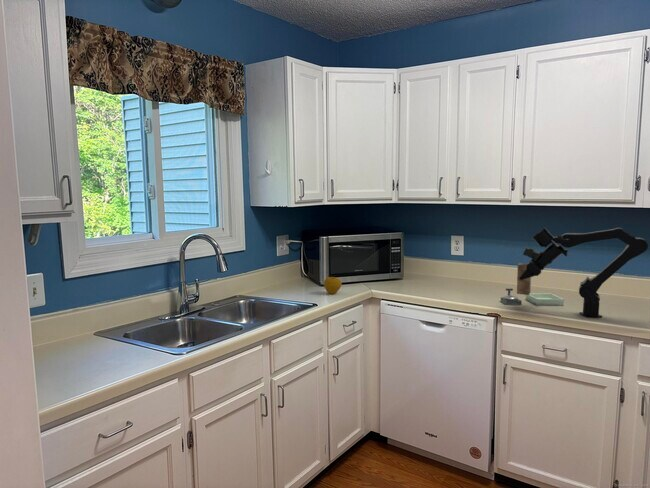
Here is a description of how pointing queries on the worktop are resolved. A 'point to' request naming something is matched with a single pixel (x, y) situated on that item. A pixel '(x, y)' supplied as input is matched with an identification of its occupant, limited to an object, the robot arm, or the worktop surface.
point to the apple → (332, 285)
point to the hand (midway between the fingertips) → (520, 278)
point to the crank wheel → (510, 297)
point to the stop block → (523, 281)
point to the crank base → (511, 301)
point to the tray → (545, 299)
